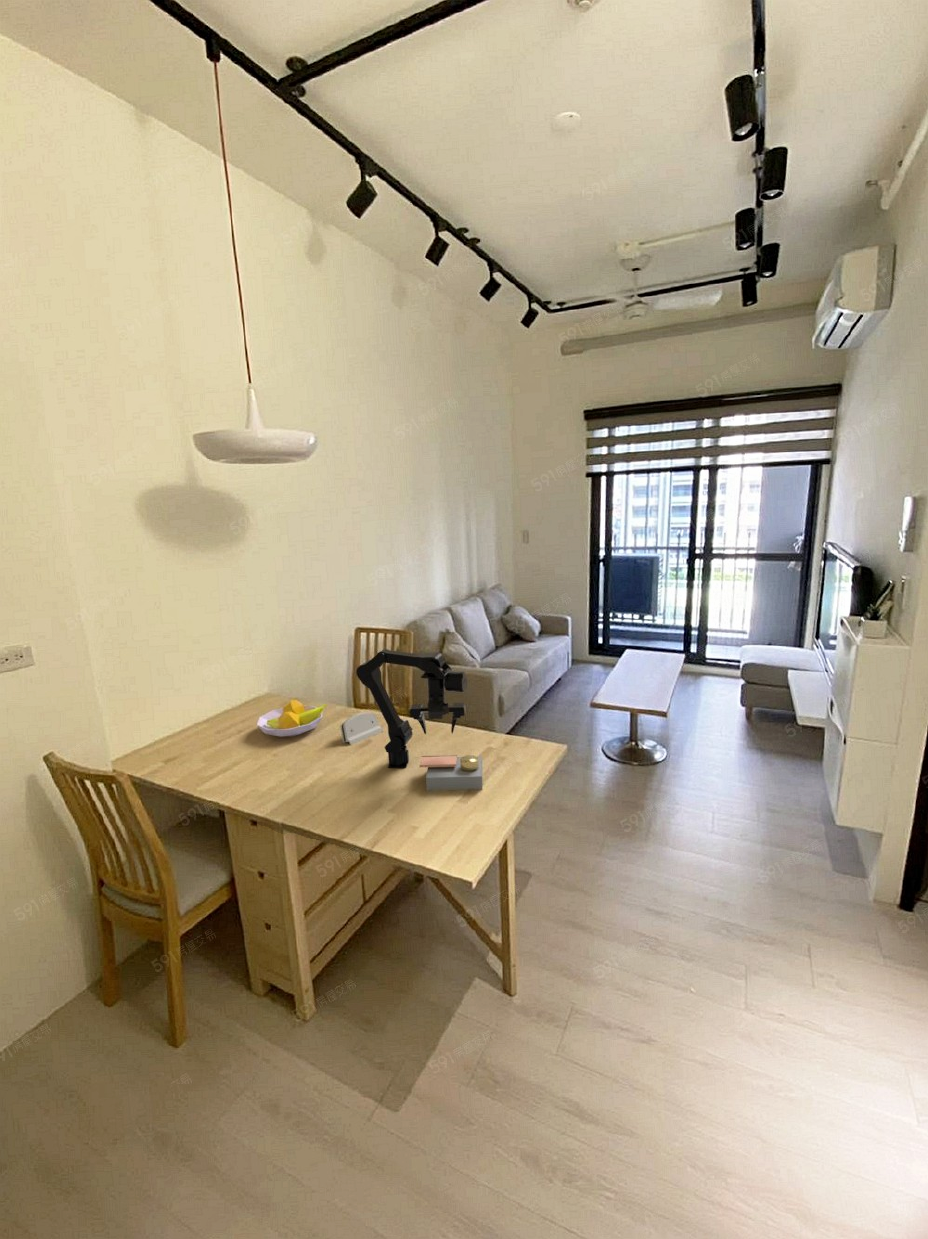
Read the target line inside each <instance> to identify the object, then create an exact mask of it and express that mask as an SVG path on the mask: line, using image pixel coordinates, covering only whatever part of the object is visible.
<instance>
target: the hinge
mask: <svg viewBox="0 0 928 1239" xmlns="http://www.w3.org/2000/svg"><path fill="white" fill-rule="evenodd" d="M339 727H340V733H341V737H342V742H343V743H349V745H350V746H352V745H355V744H356V743H360V742H362V741H364V740H367V739H369V738H371V737H374V736H376V735H378V734H380V733H382V732H384V731H383V728H382V726H381V725H380V723H379V721H378V719H377V717H376V715H375V713H373V712H362V713H357V714H355V715H352V716H351V717H349V718H347V719H346V720H345V721H343V722H342V723H341V724H340V726H339Z"/></svg>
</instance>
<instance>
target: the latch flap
mask: <svg viewBox="0 0 928 1239" xmlns="http://www.w3.org/2000/svg"><path fill="white" fill-rule="evenodd" d="M457 757H458V755H457V754H454V755H452V754H451V755H450V754H449V755H448V754H447V755H422V756H421V759H420V762H419V765H418V766H419V768H428V767H456V762H457Z"/></svg>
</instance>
